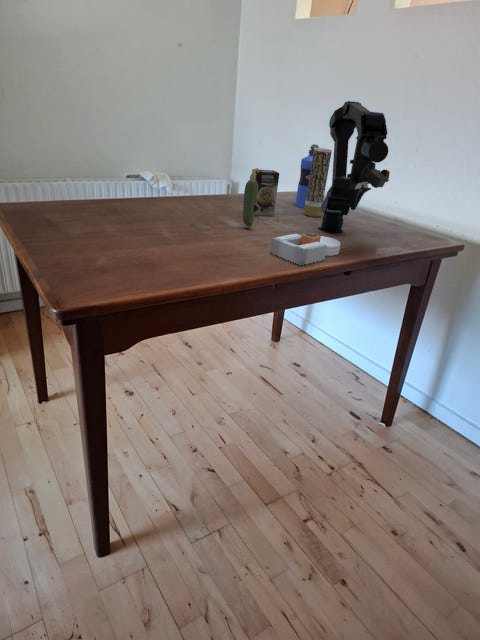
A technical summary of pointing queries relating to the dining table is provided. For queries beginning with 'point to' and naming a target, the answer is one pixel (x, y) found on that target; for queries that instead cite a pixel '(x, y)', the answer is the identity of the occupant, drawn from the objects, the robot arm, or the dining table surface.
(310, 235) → the orange cylinder
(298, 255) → the housing
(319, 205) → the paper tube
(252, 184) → the vegetable
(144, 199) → the dining table surface
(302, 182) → the water bottle
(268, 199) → the coffee box
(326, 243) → the white round dish
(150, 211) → the dining table surface
